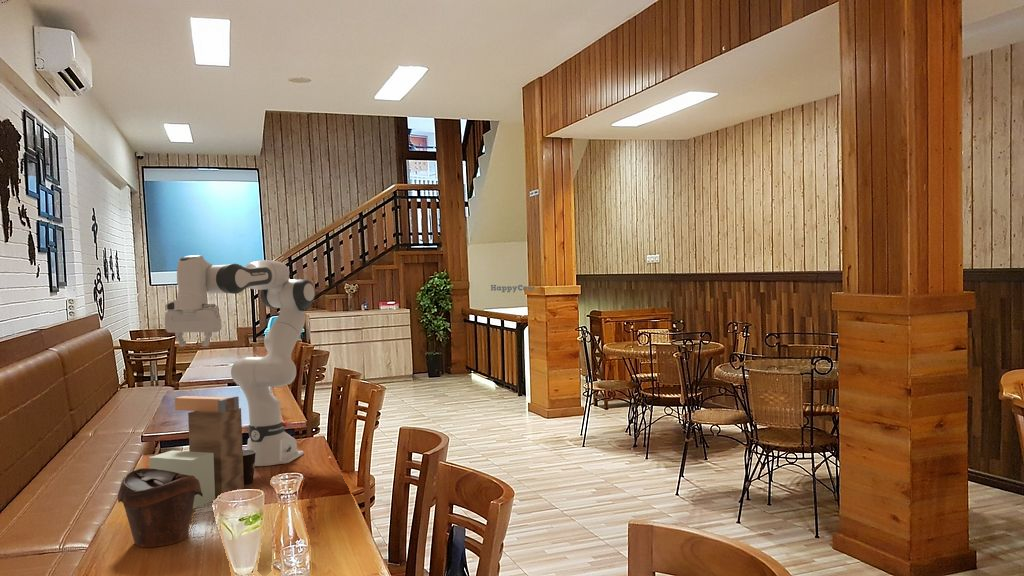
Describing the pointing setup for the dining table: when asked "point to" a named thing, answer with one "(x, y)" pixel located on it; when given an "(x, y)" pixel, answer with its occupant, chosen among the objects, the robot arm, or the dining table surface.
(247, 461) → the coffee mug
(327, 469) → the dining table surface
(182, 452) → the grey green block
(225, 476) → the stand
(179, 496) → the brown round container
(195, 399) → the orange brown flat block
